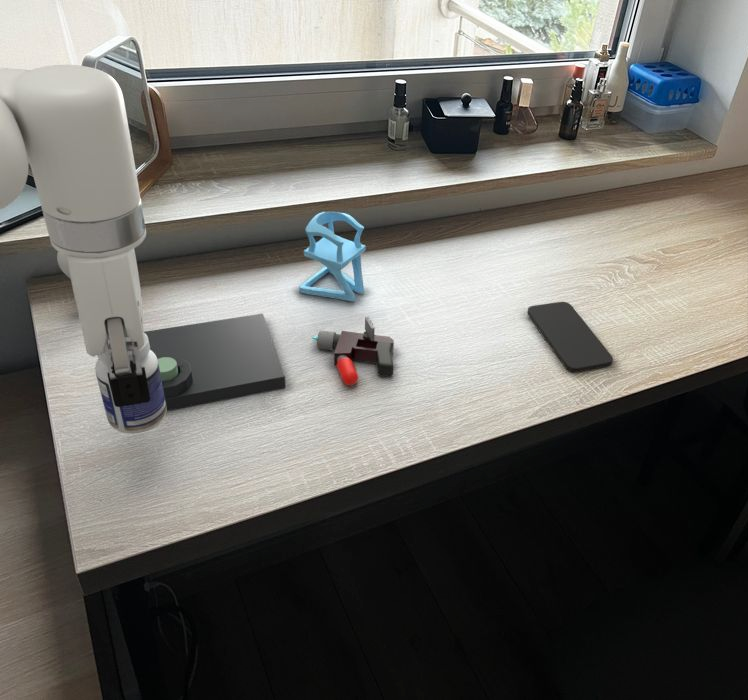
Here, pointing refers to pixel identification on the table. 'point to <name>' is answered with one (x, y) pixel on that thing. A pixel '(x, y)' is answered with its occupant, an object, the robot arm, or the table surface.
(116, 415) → the pill bottle
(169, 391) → the dark grey button base
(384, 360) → the toy gun
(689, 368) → the table surface
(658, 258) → the table surface
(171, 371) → the button
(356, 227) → the chair
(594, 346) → the phone
